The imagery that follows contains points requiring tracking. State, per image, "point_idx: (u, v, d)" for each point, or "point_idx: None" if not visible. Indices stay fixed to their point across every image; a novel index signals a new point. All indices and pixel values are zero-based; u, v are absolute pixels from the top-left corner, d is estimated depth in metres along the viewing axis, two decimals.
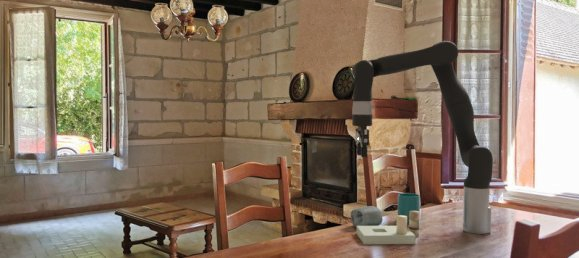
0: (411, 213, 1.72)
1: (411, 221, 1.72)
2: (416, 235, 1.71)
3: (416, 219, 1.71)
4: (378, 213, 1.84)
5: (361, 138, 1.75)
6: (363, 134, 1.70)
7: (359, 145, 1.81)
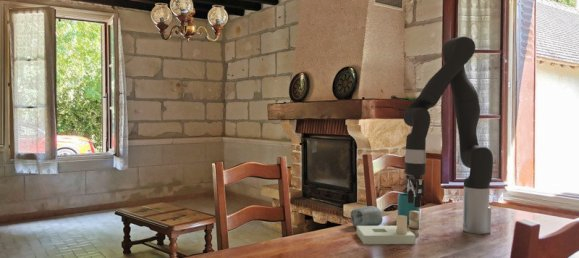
0: (411, 213, 1.72)
1: (411, 221, 1.72)
2: (416, 235, 1.71)
3: (416, 219, 1.71)
4: (378, 213, 1.84)
5: (414, 187, 1.70)
6: (418, 184, 1.66)
7: (410, 193, 1.77)
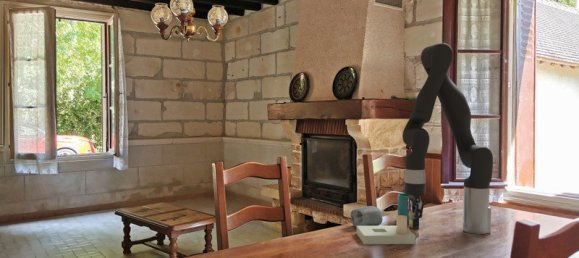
0: (411, 213, 1.72)
1: (411, 221, 1.72)
2: (416, 235, 1.71)
3: None
4: (378, 213, 1.84)
5: None
6: (417, 209, 1.67)
7: None
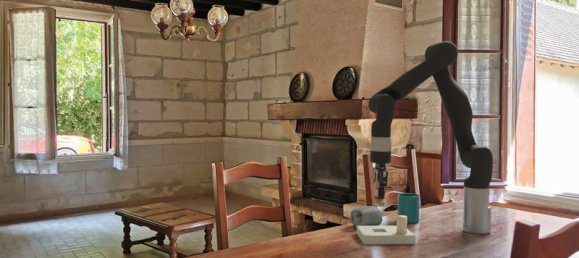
0: (376, 182, 1.67)
1: (376, 190, 1.67)
2: (381, 205, 1.66)
3: None
4: (378, 213, 1.84)
5: None
6: (381, 176, 1.62)
7: None
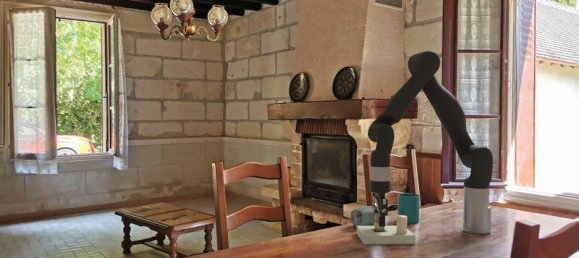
0: (376, 215, 1.67)
1: (376, 224, 1.67)
2: None
3: None
4: None
5: (379, 206, 1.66)
6: (381, 204, 1.61)
7: (376, 211, 1.72)
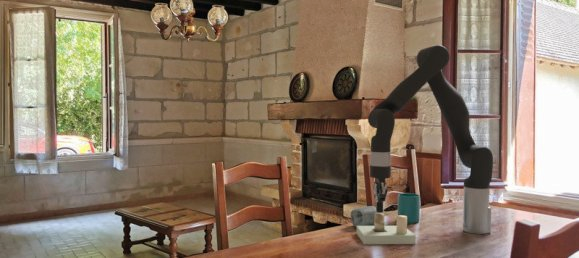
0: (376, 215, 1.67)
1: (376, 224, 1.67)
2: None
3: (381, 222, 1.67)
4: None
5: None
6: (380, 193, 1.63)
7: None
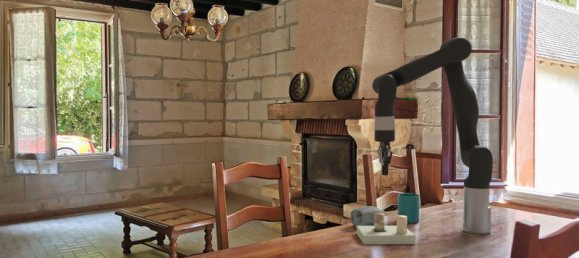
0: (376, 215, 1.67)
1: (376, 224, 1.67)
2: None
3: (381, 222, 1.67)
4: None
5: None
6: (386, 156, 1.68)
7: None
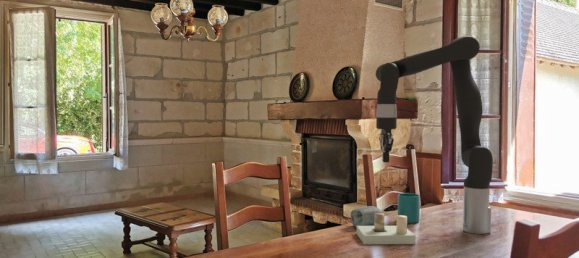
0: (376, 215, 1.67)
1: (376, 224, 1.67)
2: None
3: (381, 222, 1.67)
4: None
5: None
6: (387, 143, 1.70)
7: None
